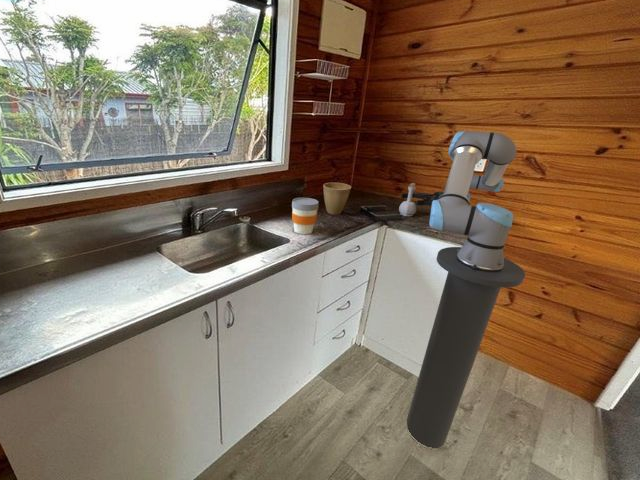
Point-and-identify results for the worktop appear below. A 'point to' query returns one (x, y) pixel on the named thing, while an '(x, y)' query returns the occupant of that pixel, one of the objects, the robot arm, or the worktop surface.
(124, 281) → the worktop surface
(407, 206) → the potion bottle
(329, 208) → the plant pot
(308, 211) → the reusable coffee cup
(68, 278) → the worktop surface
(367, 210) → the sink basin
